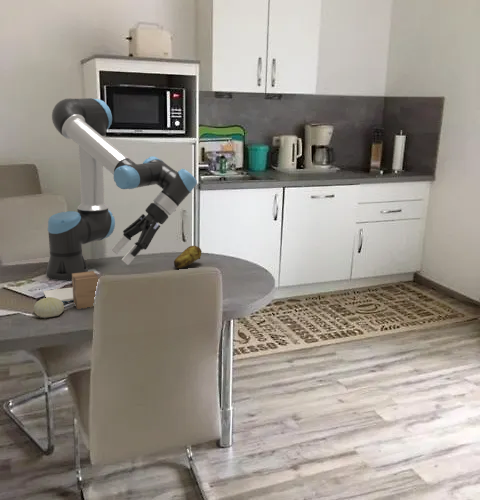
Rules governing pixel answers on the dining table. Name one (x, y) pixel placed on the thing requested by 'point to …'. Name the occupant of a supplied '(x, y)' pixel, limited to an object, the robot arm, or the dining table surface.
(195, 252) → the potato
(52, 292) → the tile
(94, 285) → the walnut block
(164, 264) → the dining table surface
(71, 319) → the dining table surface
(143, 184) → the robot arm
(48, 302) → the sea urchin shell
